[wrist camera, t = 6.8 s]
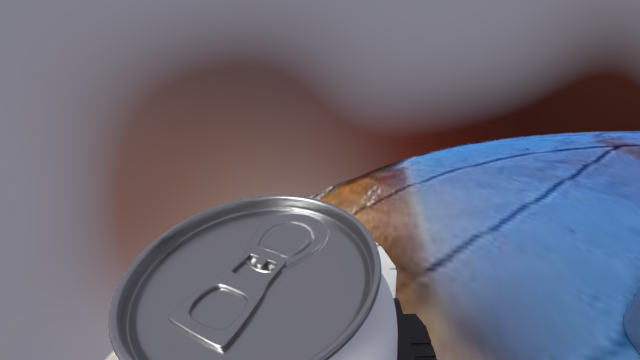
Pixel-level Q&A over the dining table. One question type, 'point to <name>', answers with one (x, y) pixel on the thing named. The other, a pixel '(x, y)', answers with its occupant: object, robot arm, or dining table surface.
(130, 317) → the can
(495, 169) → the dining table surface
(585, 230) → the dining table surface
